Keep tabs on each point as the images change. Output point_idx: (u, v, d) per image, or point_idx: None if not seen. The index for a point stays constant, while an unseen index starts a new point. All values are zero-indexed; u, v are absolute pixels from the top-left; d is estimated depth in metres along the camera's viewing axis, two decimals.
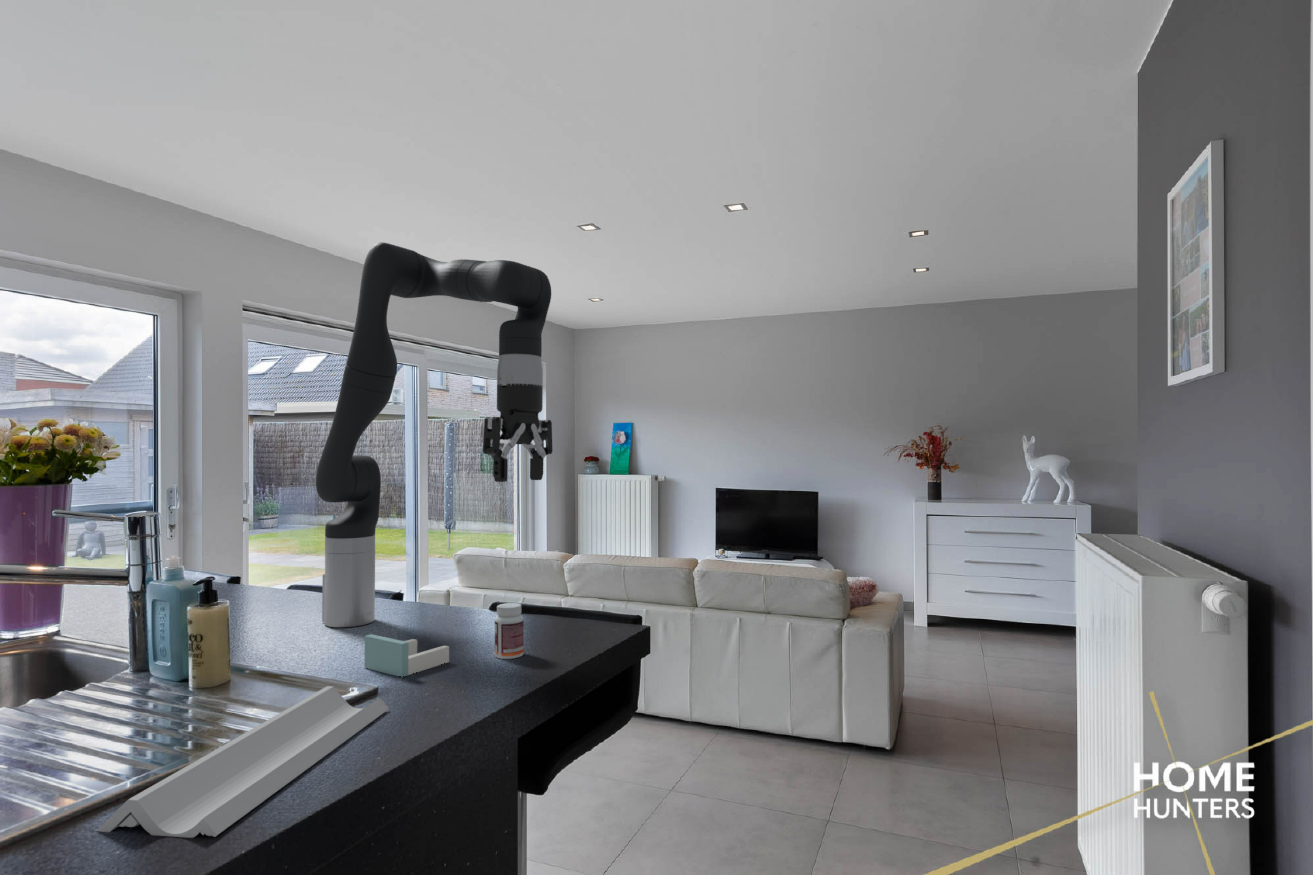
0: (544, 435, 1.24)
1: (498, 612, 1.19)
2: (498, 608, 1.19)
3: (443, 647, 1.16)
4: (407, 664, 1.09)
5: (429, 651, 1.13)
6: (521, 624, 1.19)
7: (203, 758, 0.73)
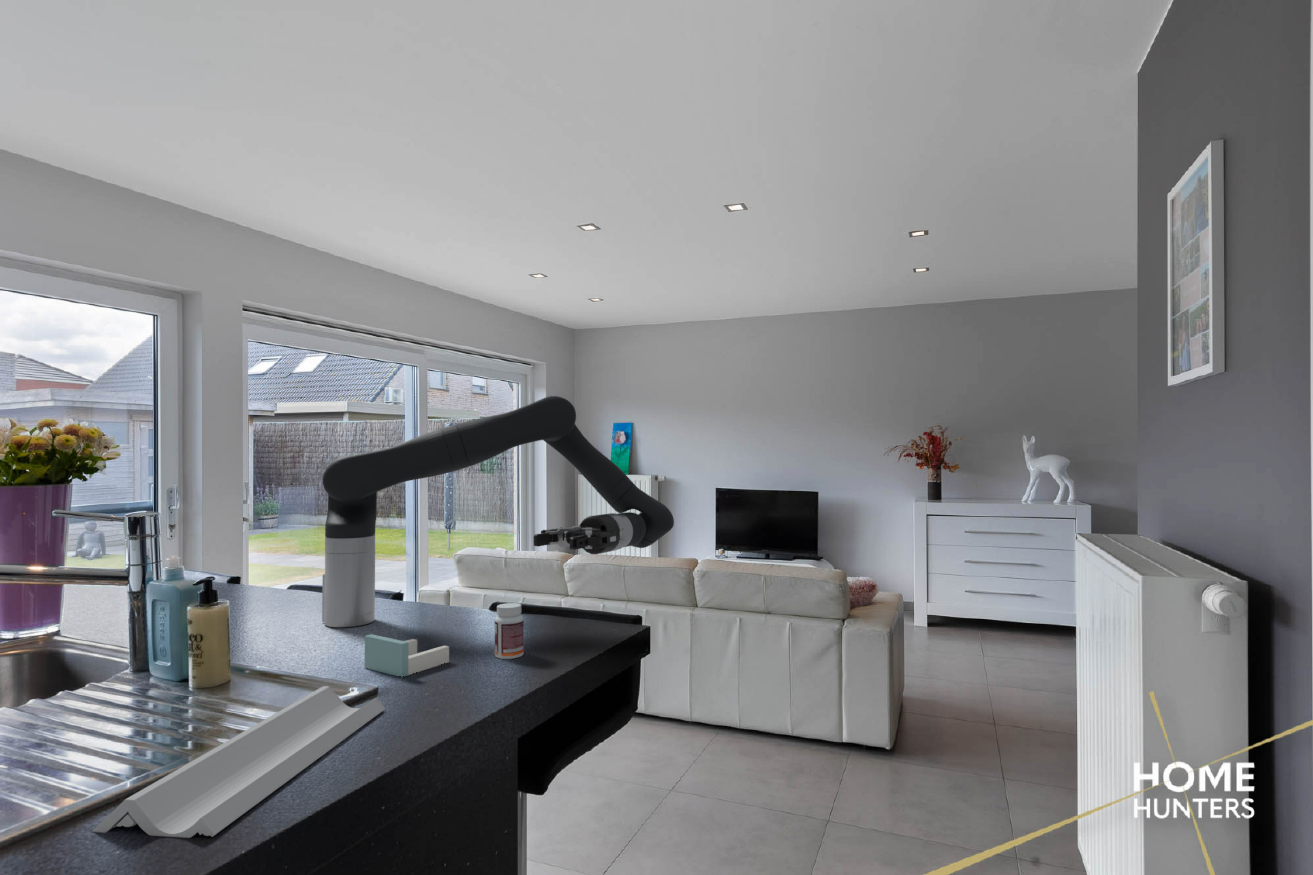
0: (556, 538, 1.39)
1: (498, 612, 1.19)
2: (498, 608, 1.19)
3: (443, 647, 1.16)
4: (407, 664, 1.09)
5: (429, 651, 1.13)
6: (521, 624, 1.19)
7: (200, 758, 0.73)
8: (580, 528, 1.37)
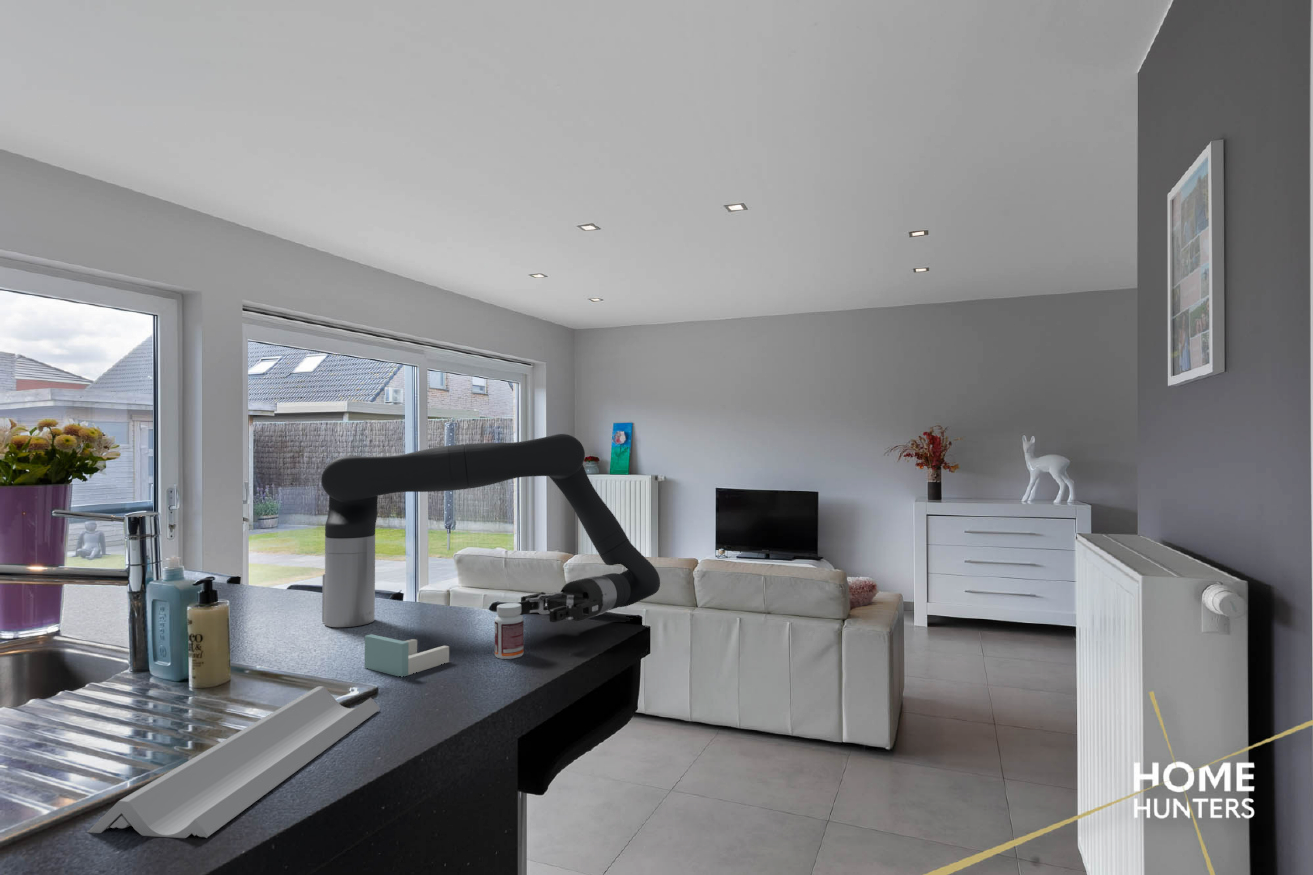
0: (536, 604, 1.34)
1: (498, 612, 1.19)
2: (498, 608, 1.19)
3: (443, 647, 1.16)
4: (407, 664, 1.09)
5: (429, 651, 1.13)
6: (521, 624, 1.19)
7: (194, 759, 0.73)
8: (561, 595, 1.33)
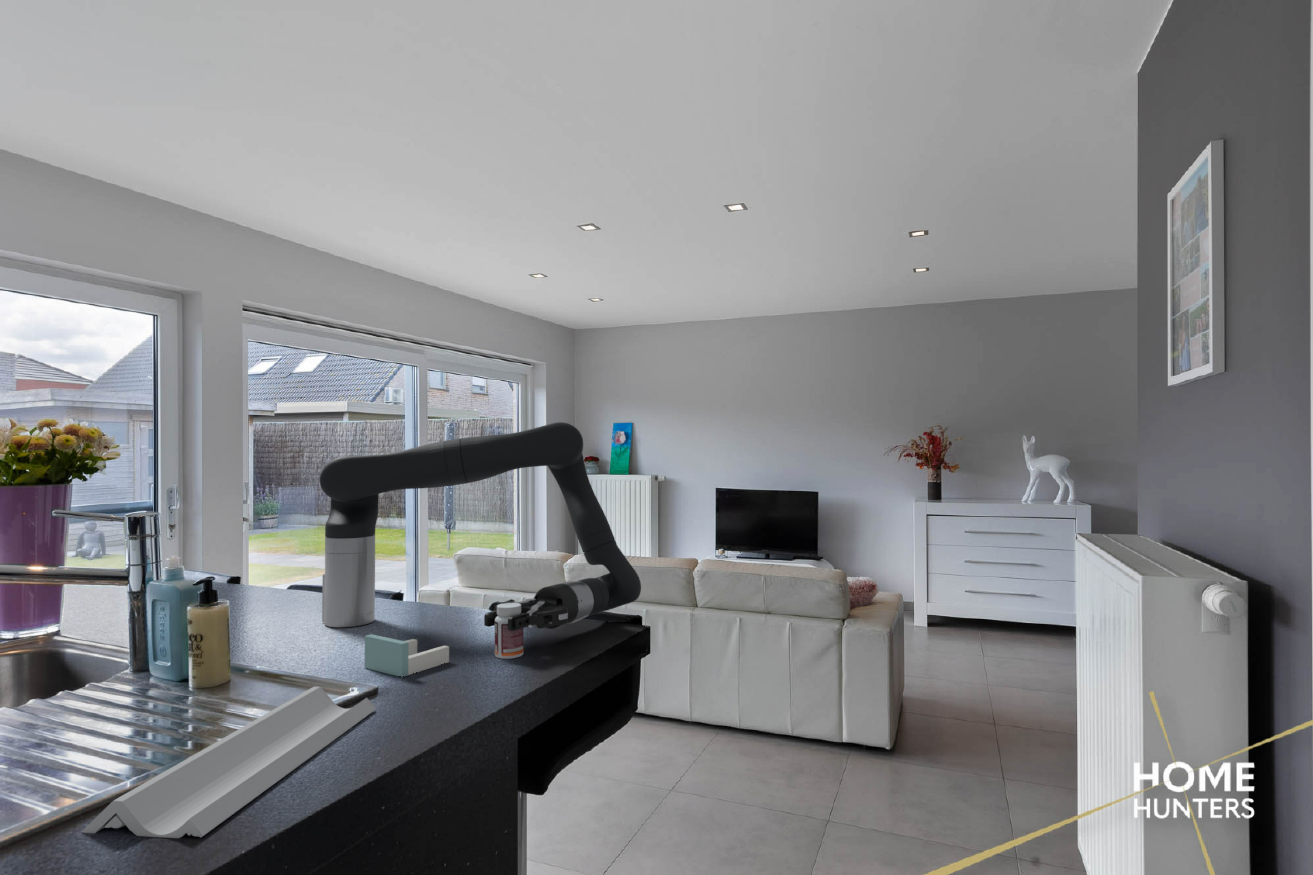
0: None
1: (498, 612, 1.19)
2: (498, 608, 1.19)
3: (443, 647, 1.16)
4: (407, 664, 1.09)
5: (429, 651, 1.13)
6: None
7: (189, 759, 0.73)
8: (535, 601, 1.26)
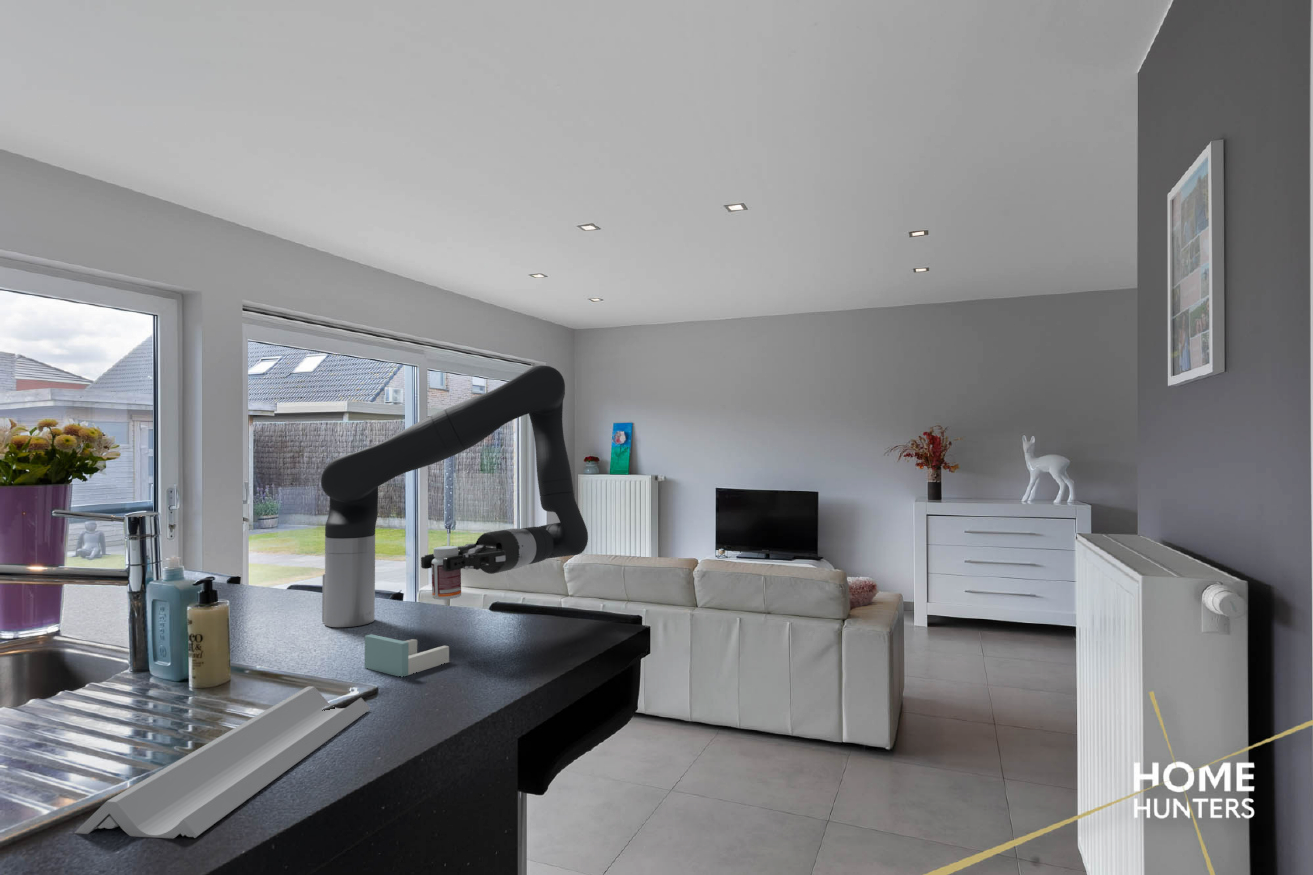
0: None
1: (434, 554, 1.20)
2: (434, 550, 1.20)
3: (443, 647, 1.16)
4: (407, 664, 1.09)
5: (429, 651, 1.13)
6: None
7: (183, 759, 0.73)
8: (474, 546, 1.28)
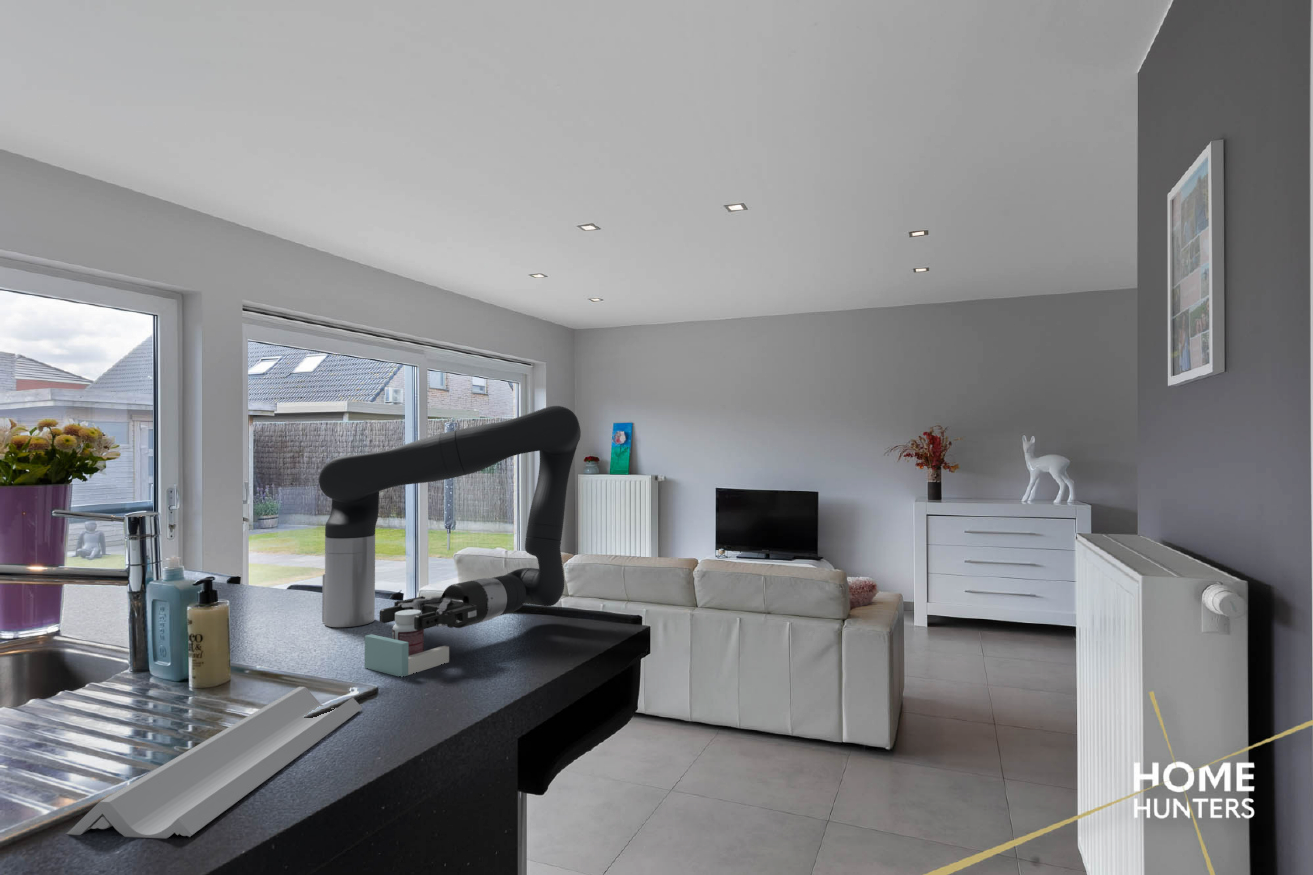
0: (413, 609, 1.23)
1: (395, 619, 1.14)
2: (395, 615, 1.14)
3: (443, 647, 1.16)
4: (407, 664, 1.09)
5: (429, 651, 1.13)
6: (420, 632, 1.14)
7: (175, 759, 0.73)
8: (439, 599, 1.21)
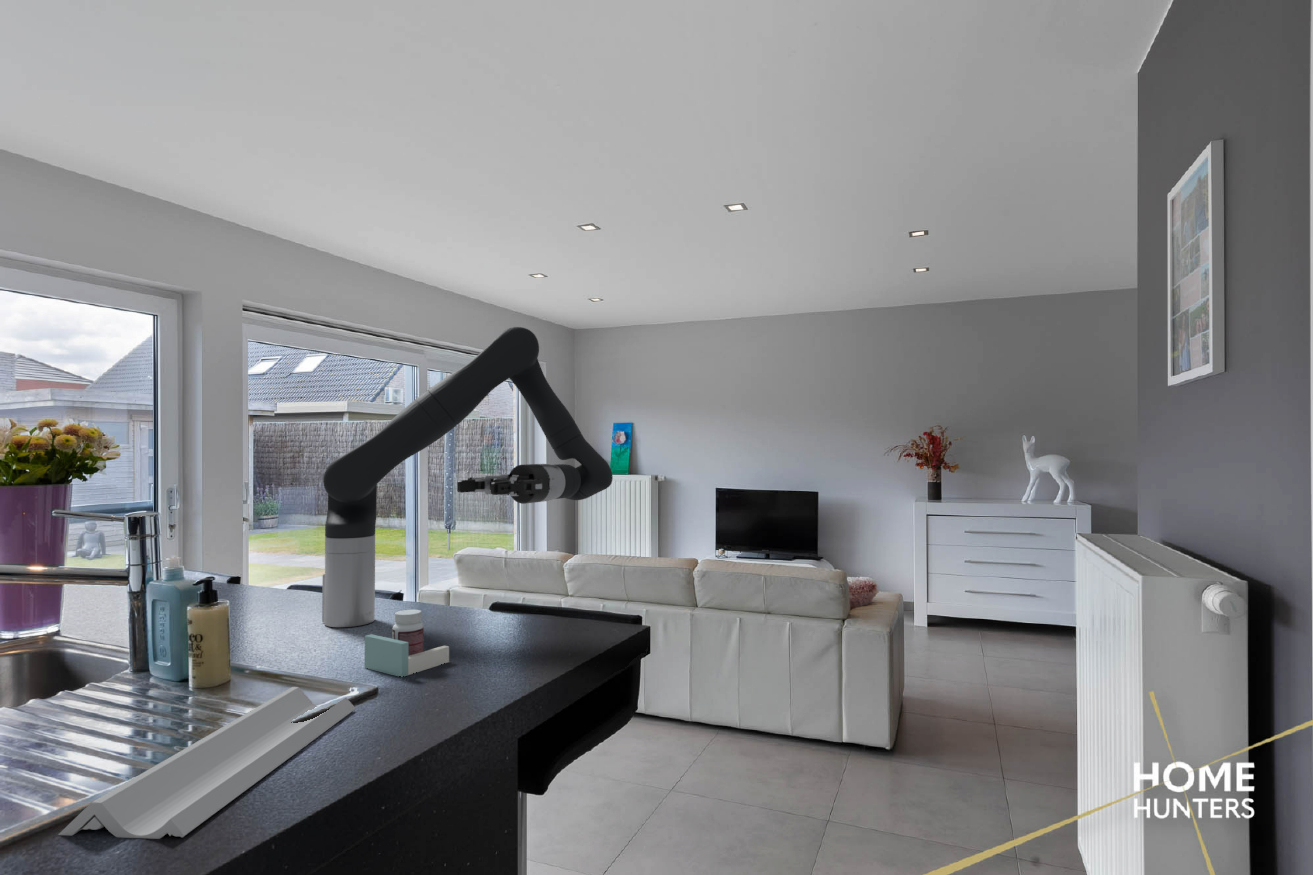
0: (484, 486, 1.37)
1: (395, 619, 1.14)
2: (395, 615, 1.14)
3: (443, 647, 1.16)
4: (407, 664, 1.09)
5: (429, 651, 1.13)
6: (420, 632, 1.14)
7: (168, 760, 0.72)
8: (508, 476, 1.35)
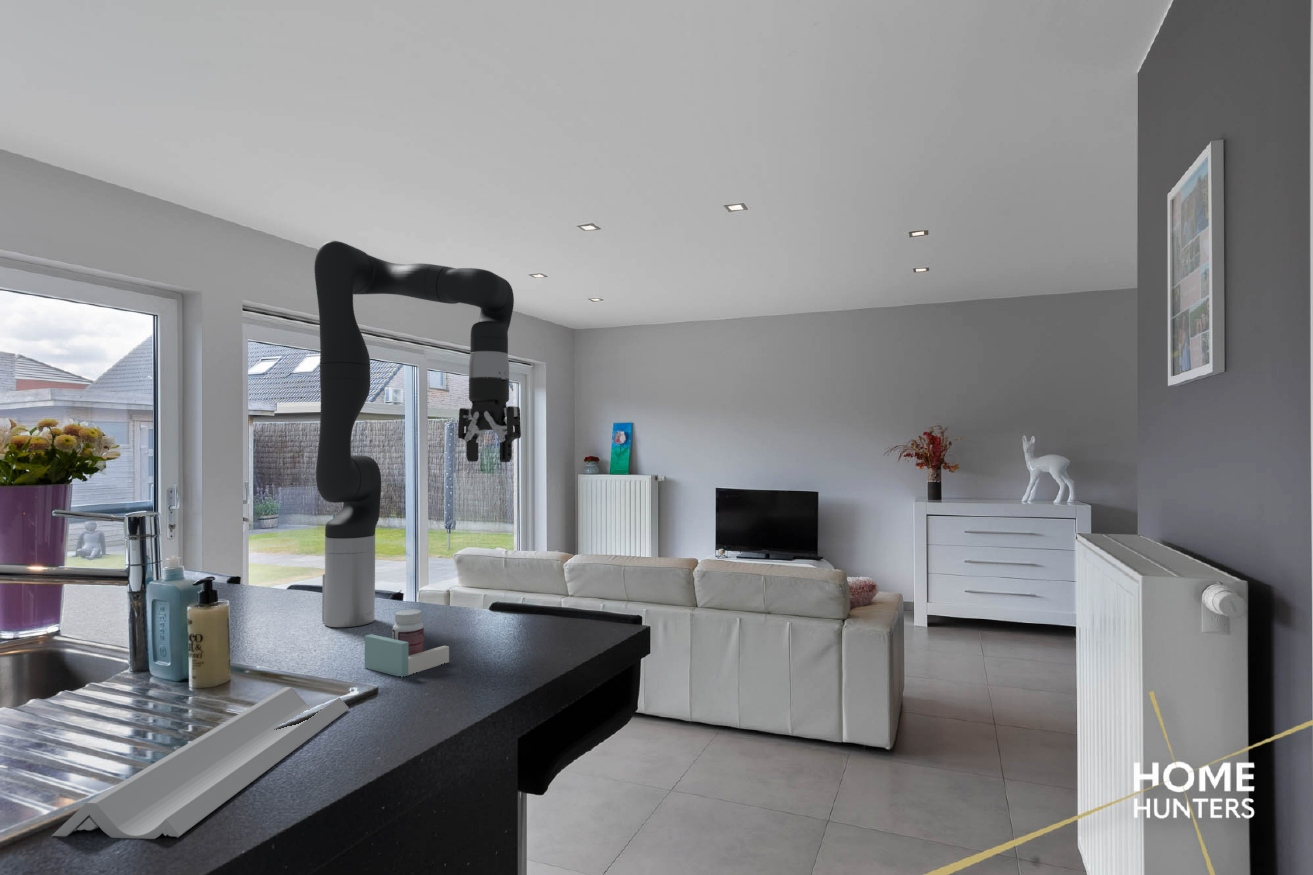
0: (469, 422, 1.40)
1: (396, 619, 1.14)
2: (396, 615, 1.14)
3: (443, 647, 1.16)
4: (407, 664, 1.09)
5: (429, 651, 1.13)
6: (420, 632, 1.14)
7: (162, 760, 0.72)
8: (480, 414, 1.36)
